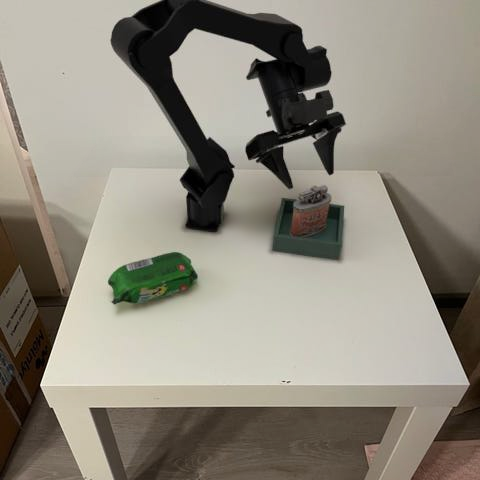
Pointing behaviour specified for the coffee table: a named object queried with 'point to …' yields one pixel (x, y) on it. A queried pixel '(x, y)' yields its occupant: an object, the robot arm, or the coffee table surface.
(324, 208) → the lighter
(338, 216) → the shallow open tray
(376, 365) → the coffee table surface
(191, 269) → the snack package
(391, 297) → the coffee table surface
